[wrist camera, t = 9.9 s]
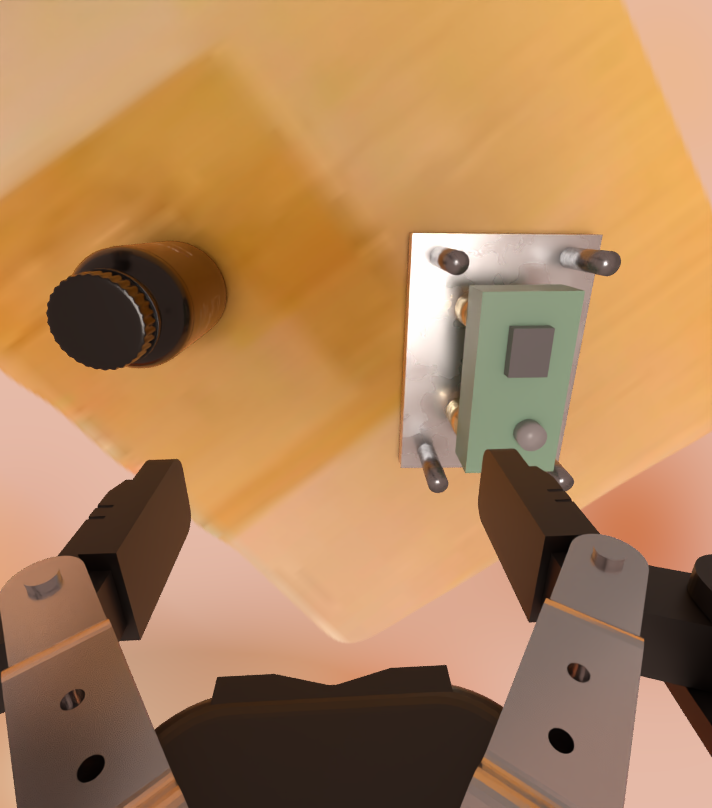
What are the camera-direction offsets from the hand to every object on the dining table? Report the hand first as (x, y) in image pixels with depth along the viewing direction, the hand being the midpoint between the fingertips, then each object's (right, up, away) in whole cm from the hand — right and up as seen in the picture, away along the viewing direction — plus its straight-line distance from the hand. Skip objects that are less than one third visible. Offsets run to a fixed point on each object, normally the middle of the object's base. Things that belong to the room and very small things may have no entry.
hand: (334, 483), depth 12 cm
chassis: (+11, +6, +23) cm, 26 cm away
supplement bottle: (-12, +10, +21) cm, 27 cm away
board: (+11, +4, +19) cm, 22 cm away
